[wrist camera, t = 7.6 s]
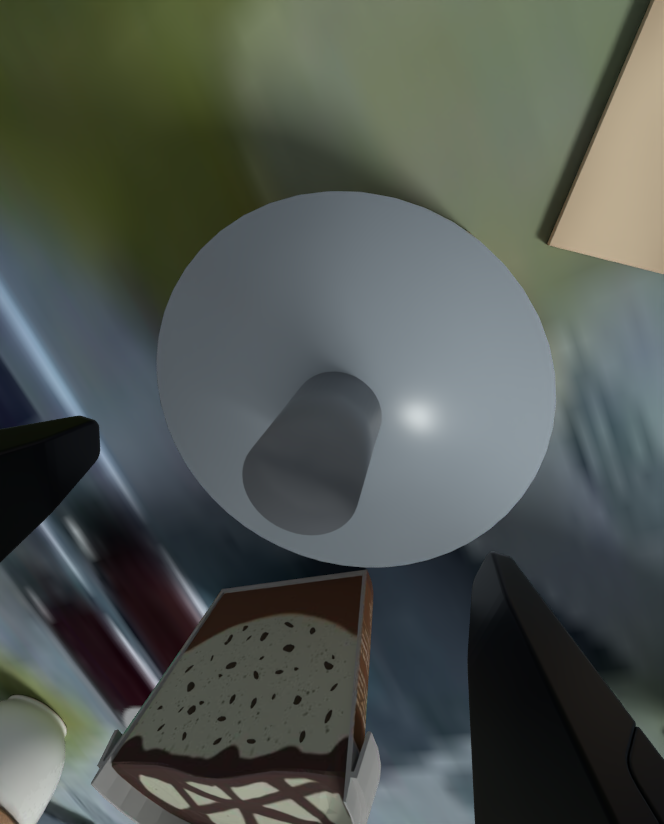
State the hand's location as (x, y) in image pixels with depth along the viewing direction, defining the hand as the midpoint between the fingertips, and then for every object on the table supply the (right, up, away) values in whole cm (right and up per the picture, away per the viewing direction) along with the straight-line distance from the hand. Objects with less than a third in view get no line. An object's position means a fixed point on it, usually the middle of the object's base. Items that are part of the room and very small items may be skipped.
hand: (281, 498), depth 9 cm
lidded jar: (-25, -26, +30) cm, 47 cm away
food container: (0, -10, +16) cm, 19 cm away
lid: (+1, +2, +5) cm, 6 cm away
